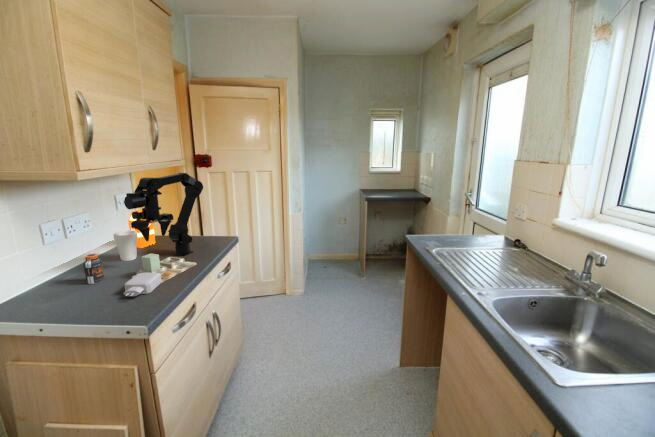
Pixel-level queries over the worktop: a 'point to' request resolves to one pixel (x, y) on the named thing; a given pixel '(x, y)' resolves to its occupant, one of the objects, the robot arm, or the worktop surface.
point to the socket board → (171, 267)
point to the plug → (150, 262)
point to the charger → (142, 284)
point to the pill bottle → (93, 269)
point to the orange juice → (140, 239)
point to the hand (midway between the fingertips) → (155, 238)
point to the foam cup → (126, 244)
